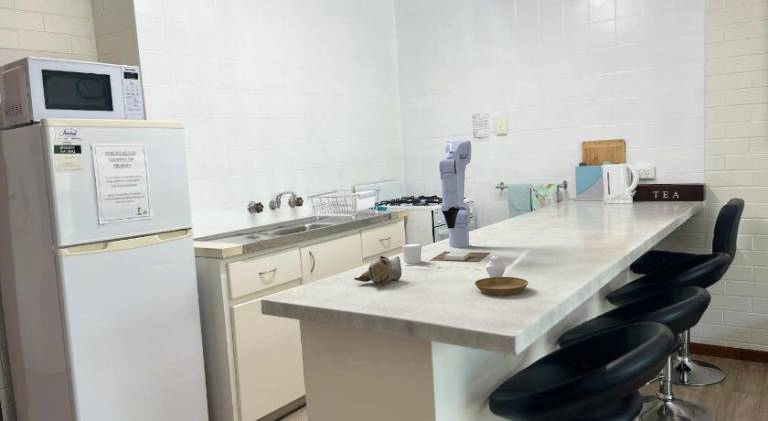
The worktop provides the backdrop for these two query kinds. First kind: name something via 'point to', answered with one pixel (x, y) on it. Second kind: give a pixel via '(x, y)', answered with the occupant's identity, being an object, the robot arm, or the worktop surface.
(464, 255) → the glazed tile
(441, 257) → the walnut board
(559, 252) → the worktop surface
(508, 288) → the plant saucer
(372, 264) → the ceramic sculpture
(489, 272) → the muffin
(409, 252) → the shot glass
